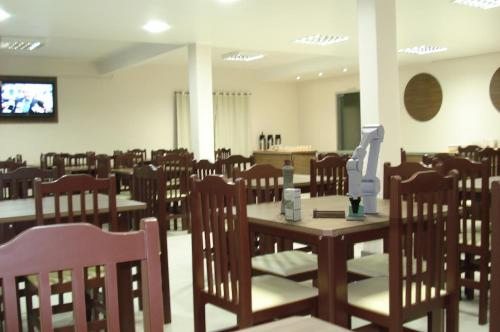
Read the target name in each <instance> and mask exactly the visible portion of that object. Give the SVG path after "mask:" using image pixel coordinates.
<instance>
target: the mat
mask: <svg viewBox="0 0 500 332" xmlns="http://www.w3.org/2000/svg"><path fill="white" fill-rule="evenodd" d="M345 218H346V219H345V220H346V222H347V221H349V222H350V221H351V222H352V221H355V222H357V221H361V222H362V221H363V222H364V221H365V216H345Z"/></svg>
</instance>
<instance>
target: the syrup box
mask: <svg viewBox="0 0 500 332" xmlns="http://www.w3.org/2000/svg"><path fill="white" fill-rule="evenodd" d="M301 193H302V192H301V188H294V189H293V188H288V189H284V202H285V214H284V220H285V221H291V222H293V221H294V222H295V221H300V219H301V220H302V201H301V200H302V197H301V196H302V194H301Z"/></svg>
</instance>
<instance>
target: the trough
mask: <svg viewBox="0 0 500 332" xmlns="http://www.w3.org/2000/svg"><path fill="white" fill-rule="evenodd" d="M312 216H313V217H312V218H317V219H318V218H320V219H321V218H326V219H328V218H329V219H330V218H331V219H332V218H333V219H334V218H338V219H341V218H342V219H343V218H346V210H330V209H329V210H324V209H323V210H317V207H313V210H312Z"/></svg>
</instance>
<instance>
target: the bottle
mask: <svg viewBox="0 0 500 332" xmlns="http://www.w3.org/2000/svg"><path fill="white" fill-rule="evenodd" d="M283 162H284V165H283V167H282V168H281V172H282V178H283V185H282V186H283V187H282V193H281V200H280V201H281V202H280V213H282V214H284V215H285V202H284V189H288V188H293V189H295V185H294V175H295V174H294V172H295V168H294V167H293V166H292V159H291V158H289V157H286V158H284V159H283Z"/></svg>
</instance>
